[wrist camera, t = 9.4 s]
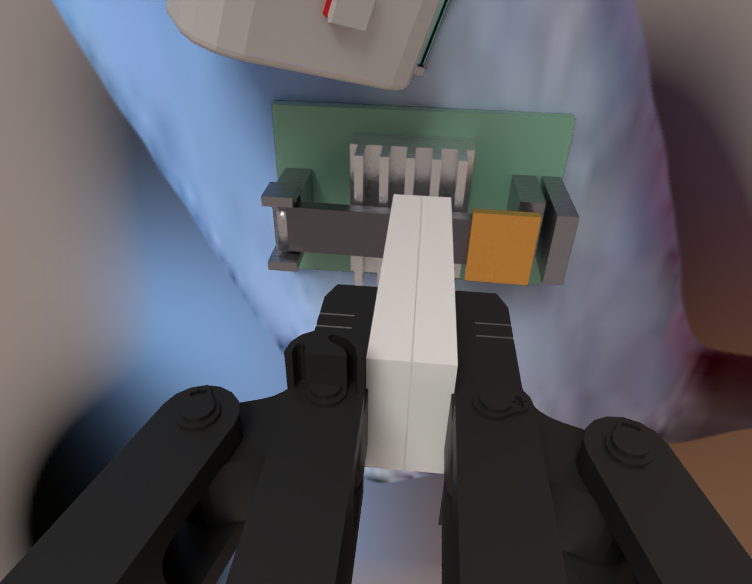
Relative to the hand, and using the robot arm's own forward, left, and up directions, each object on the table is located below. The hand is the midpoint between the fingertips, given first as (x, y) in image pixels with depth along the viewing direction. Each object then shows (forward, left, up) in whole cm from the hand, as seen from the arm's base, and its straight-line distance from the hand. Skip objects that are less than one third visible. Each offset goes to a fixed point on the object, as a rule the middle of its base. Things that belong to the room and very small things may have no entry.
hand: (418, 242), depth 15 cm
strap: (+14, -1, -27) cm, 31 cm away
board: (+14, 0, -34) cm, 37 cm away
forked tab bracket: (+14, -11, -33) cm, 38 cm away
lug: (+14, +10, -33) cm, 37 cm away
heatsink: (+14, -1, -33) cm, 36 cm away
